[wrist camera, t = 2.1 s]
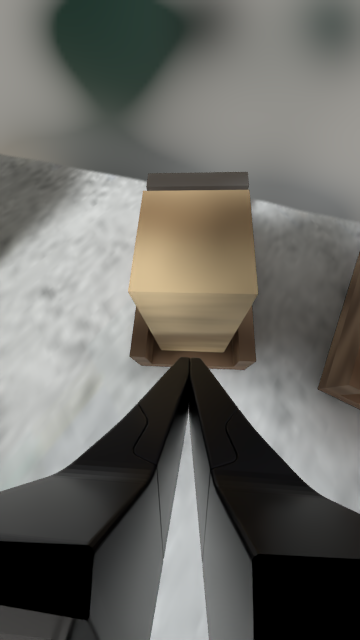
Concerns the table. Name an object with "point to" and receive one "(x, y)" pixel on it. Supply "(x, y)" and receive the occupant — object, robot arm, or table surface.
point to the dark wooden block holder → (345, 349)
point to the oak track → (243, 341)
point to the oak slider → (194, 267)
